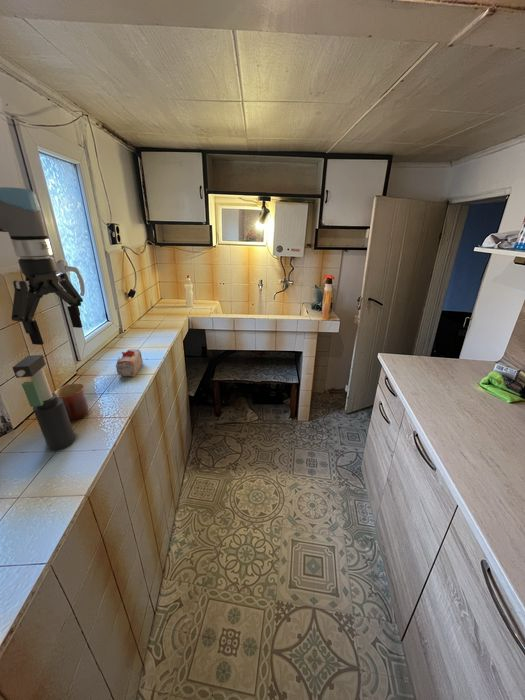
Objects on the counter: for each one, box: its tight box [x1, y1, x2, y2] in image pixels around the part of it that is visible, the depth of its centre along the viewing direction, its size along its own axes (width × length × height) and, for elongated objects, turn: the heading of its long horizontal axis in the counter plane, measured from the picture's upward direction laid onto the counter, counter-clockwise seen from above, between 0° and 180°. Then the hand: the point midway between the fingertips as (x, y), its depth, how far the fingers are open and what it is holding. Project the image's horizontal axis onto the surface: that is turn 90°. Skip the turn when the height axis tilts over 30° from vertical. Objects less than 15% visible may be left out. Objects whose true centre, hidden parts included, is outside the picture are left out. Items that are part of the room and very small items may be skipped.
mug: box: [53, 382, 89, 421], centre depth 97 cm, size 12×9×10 cm
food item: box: [115, 348, 144, 377], centre depth 126 cm, size 14×8×10 cm, turn 6°
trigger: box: [21, 380, 44, 408], centre depth 74 cm, size 1×3×7 cm, turn 102°
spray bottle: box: [12, 354, 76, 451], centre depth 79 cm, size 10×7×28 cm
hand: (59, 335), depth 80 cm, fingers open, 13 cm apart
